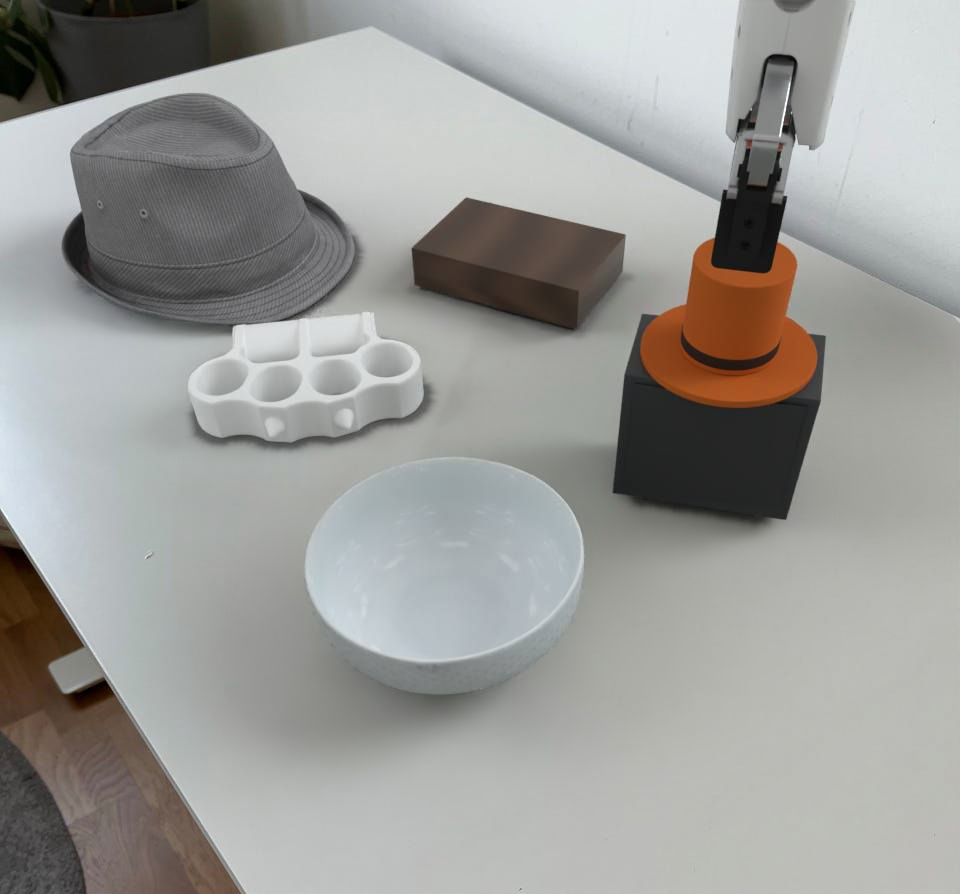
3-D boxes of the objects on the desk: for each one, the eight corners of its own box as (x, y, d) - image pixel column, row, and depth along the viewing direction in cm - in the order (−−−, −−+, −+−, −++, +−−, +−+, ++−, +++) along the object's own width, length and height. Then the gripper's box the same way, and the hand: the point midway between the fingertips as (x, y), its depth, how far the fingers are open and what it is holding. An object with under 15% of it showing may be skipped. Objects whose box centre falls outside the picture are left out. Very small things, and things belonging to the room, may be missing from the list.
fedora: (239, 366, 82) (202, 223, 72) (14, 280, 92) (-45, 145, 82) (403, 235, 95) (390, 99, 85) (190, 172, 104) (157, 44, 95)
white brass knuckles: (413, 331, 85) (431, 439, 75) (202, 352, 83) (194, 465, 74) (410, 295, 82) (427, 403, 73) (192, 317, 81) (182, 430, 72)
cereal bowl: (388, 509, 71) (377, 430, 65) (611, 566, 66) (620, 487, 61) (272, 687, 61) (248, 612, 55) (526, 768, 56) (528, 695, 51)
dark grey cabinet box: (627, 442, 74) (642, 313, 66) (790, 465, 72) (826, 335, 64) (610, 505, 70) (623, 376, 62) (782, 533, 68) (820, 402, 59)
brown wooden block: (622, 276, 89) (626, 234, 86) (576, 333, 84) (578, 290, 81) (467, 237, 94) (465, 196, 91) (414, 289, 89) (411, 247, 86)
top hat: (764, 293, 67) (784, 200, 62) (848, 386, 60) (879, 290, 55) (614, 324, 65) (622, 230, 60) (683, 424, 58) (699, 328, 53)
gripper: (916, -94, 37) (807, 315, 50) (912, -198, 47) (823, 162, 60) (713, -104, 38) (660, 296, 51) (753, -204, 49) (700, 150, 62)
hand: (748, 223), depth 56 cm, fingers open, 9 cm apart
